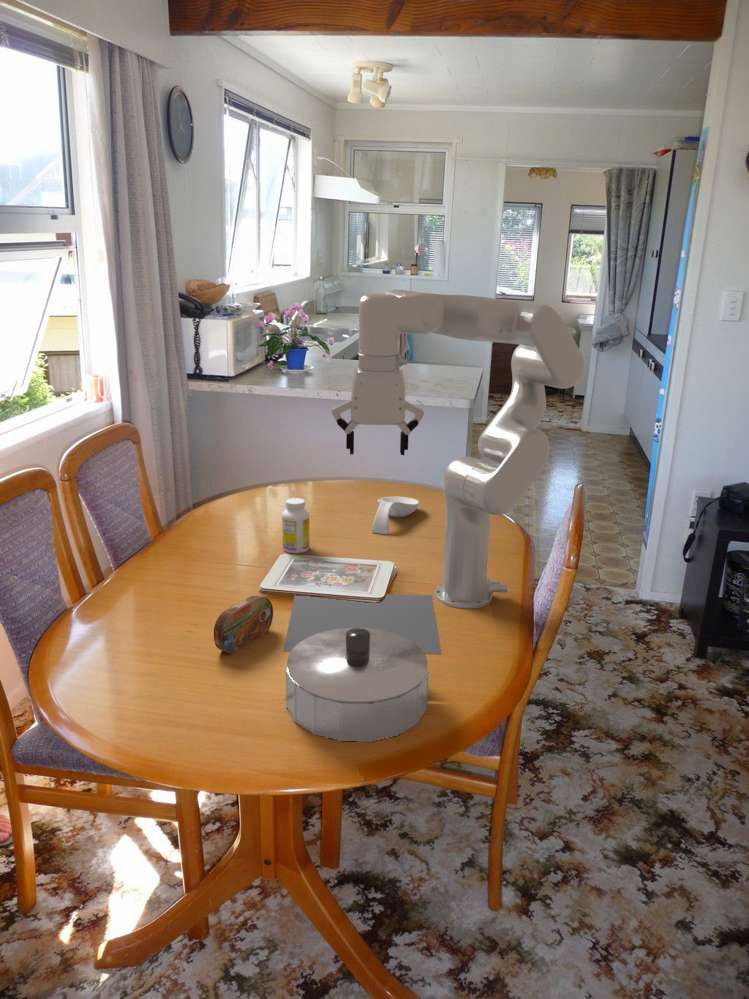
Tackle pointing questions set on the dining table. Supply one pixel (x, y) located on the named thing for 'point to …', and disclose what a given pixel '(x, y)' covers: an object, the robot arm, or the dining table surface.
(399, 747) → the dining table surface
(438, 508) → the dining table surface
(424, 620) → the rubber mat
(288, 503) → the supplement bottle
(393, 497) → the spoon rest
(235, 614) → the tin
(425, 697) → the lidded metal pot
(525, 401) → the robot arm
